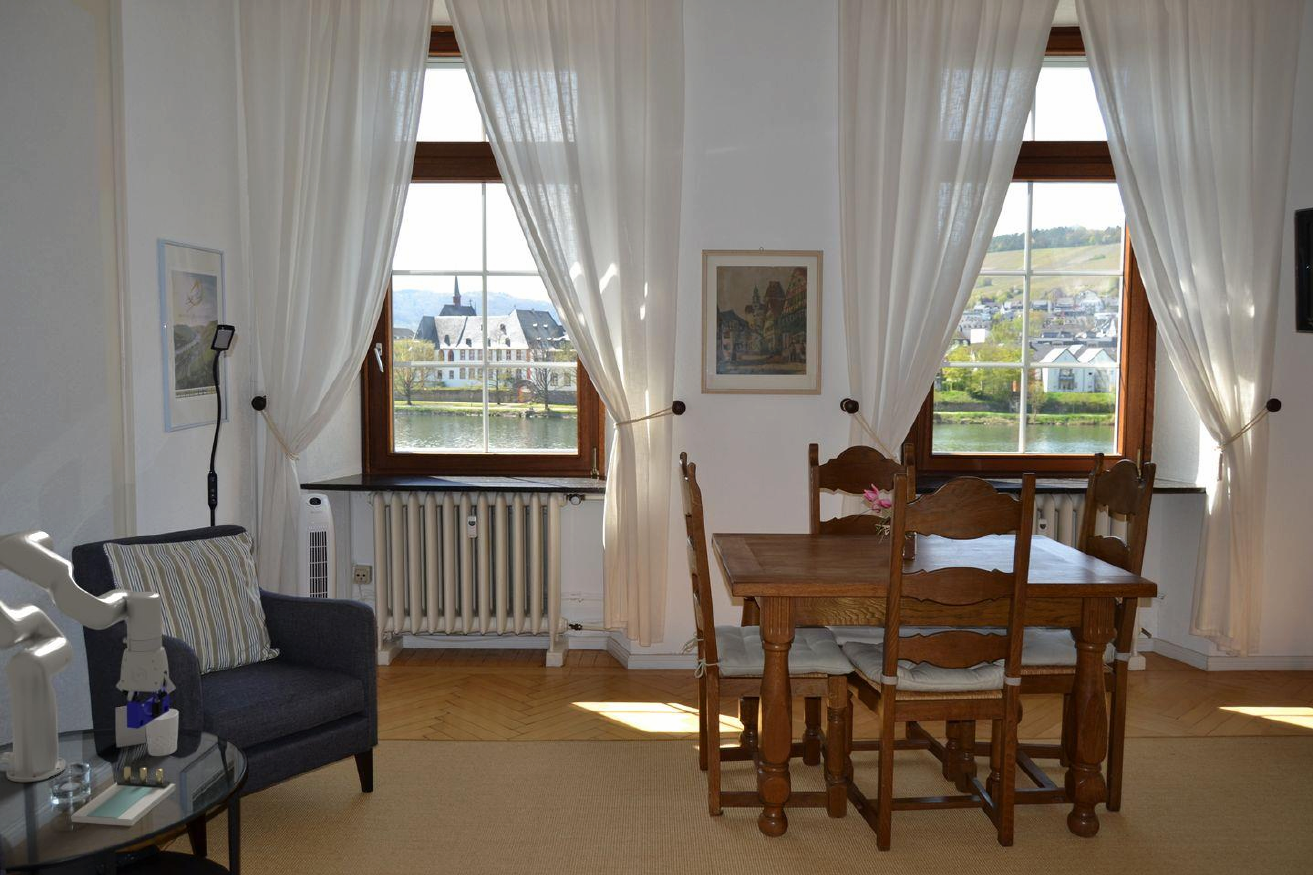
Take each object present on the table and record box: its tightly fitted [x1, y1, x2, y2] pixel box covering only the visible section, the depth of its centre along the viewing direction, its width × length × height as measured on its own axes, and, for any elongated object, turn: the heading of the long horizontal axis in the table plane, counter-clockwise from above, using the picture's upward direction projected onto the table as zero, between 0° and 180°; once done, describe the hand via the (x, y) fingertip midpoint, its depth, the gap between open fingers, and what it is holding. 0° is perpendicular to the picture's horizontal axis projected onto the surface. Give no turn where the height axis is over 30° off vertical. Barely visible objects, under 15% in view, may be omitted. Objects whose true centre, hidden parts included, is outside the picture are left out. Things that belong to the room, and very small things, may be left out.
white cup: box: [145, 708, 179, 757], centre depth 269 cm, size 8×8×10 cm
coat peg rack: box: [116, 765, 171, 788], centre depth 247 cm, size 12×2×4 cm, turn 86°
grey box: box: [114, 703, 147, 748], centre depth 274 cm, size 4×7×10 cm, turn 120°
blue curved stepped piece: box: [126, 686, 170, 729], centre depth 254 cm, size 12×4×6 cm, turn 171°
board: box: [70, 781, 176, 827], centre depth 239 cm, size 14×18×2 cm
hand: (146, 714), depth 254 cm, fingers closed on blue curved stepped piece, 4 cm apart
